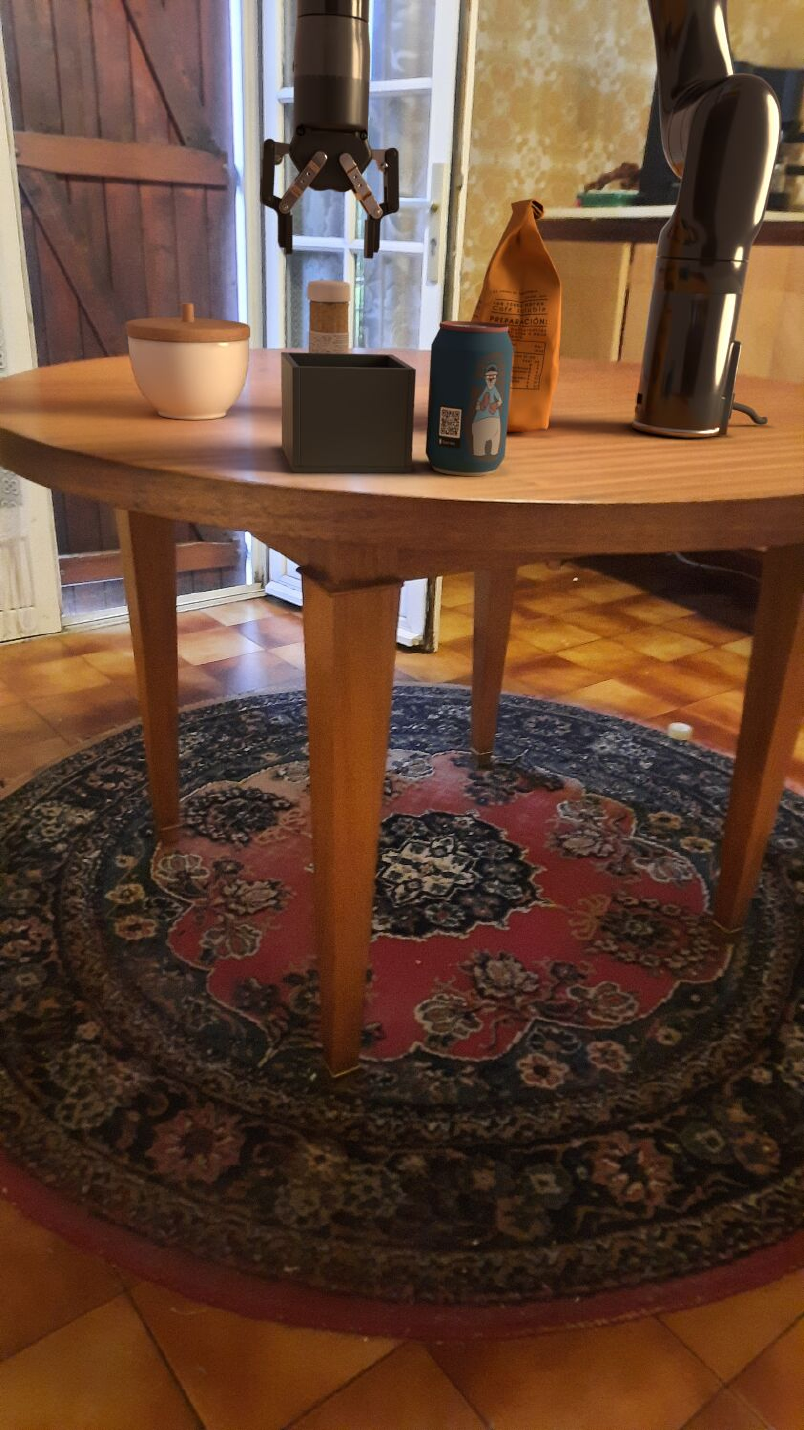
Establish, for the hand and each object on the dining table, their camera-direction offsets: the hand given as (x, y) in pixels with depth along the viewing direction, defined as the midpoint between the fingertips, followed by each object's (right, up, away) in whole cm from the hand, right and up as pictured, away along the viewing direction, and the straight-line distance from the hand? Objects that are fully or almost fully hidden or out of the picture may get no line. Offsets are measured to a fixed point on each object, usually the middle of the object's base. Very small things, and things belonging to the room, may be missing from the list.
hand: (328, 256), depth 107 cm
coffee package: (+19, -17, +3) cm, 26 cm away
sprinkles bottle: (-1, -14, +7) cm, 16 cm away
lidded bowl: (-15, -16, +1) cm, 22 cm away
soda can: (+13, -27, -18) cm, 35 cm away
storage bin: (+2, -26, -16) cm, 30 cm away
